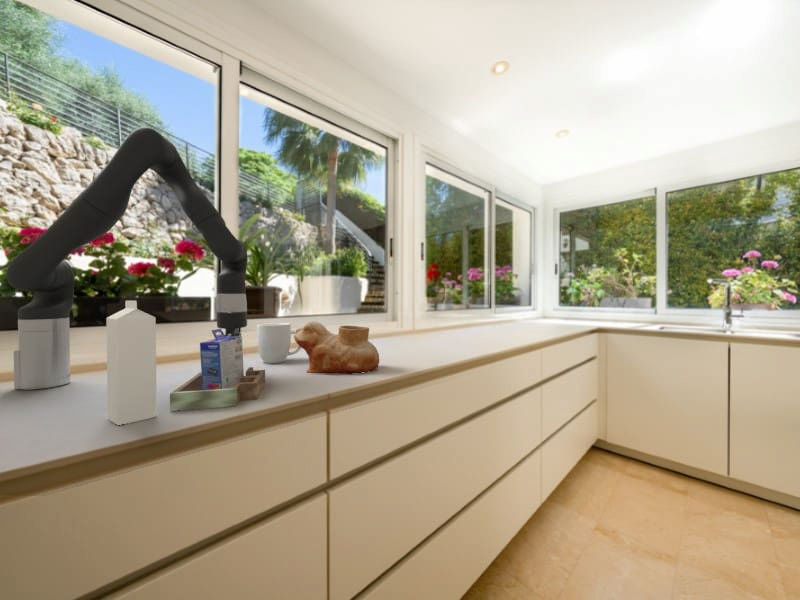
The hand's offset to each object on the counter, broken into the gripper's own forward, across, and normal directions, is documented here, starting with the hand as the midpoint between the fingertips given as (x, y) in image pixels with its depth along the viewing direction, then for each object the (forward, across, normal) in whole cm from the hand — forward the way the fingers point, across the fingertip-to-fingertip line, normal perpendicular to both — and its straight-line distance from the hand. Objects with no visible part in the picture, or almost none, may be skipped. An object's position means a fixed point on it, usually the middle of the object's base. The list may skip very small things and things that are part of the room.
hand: (233, 372), depth 97 cm
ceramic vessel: (+2, -3, +29) cm, 29 cm away
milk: (+1, +29, -12) cm, 32 cm away
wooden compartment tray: (+1, +16, +1) cm, 16 cm away
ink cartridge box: (+2, +11, 0) cm, 11 cm away
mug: (+2, -22, +10) cm, 25 cm away
